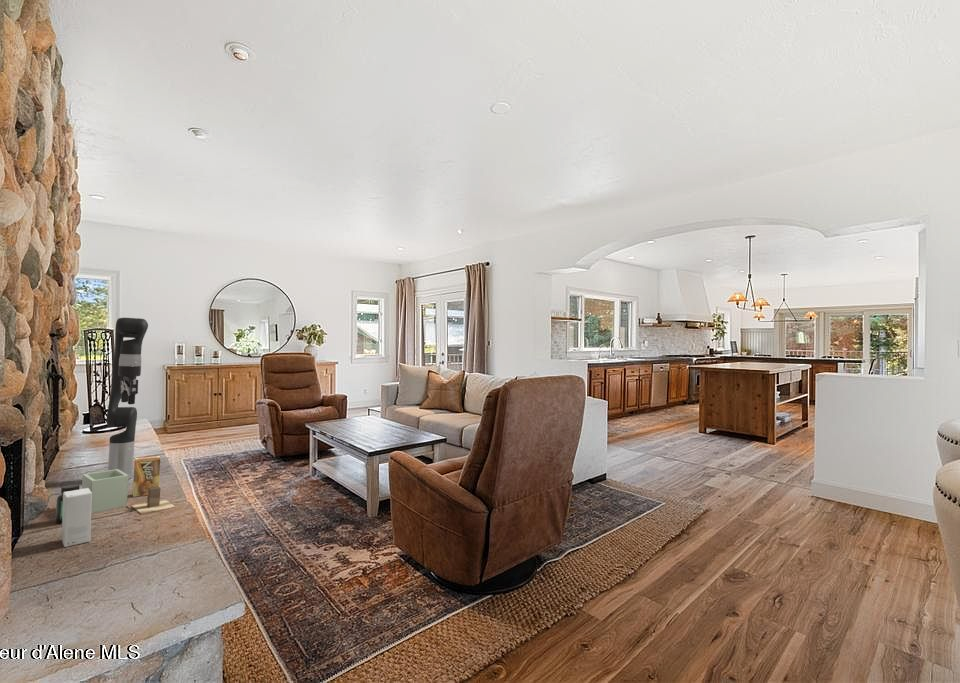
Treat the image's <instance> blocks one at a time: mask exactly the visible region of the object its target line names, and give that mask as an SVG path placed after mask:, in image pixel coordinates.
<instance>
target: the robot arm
mask: <svg viewBox="0 0 960 683" xmlns="http://www.w3.org/2000/svg"><path fill="white" fill-rule="evenodd" d="M148 327H149V323H148V321H147V320H146V319H145V318H140V317H139V318H138V317H118V318H117V319H116V323H115V330H114V331H115V334H114V355H113V361H112V369H111V370H112V371H111V384H110V395H109V400H108V406H107V412H106V420H105V421H106V422H105V423H106V425H107V427H108V428H125V430H124V431H122V432H120V433H115V434H112V435H110V436H109V446H108V459H107V460H108V461H107V462H108V463H107V471H109V470H116V469H119V470H120V471H122V472H124V473H125V474H127V475H129V478H128V480H129V479H132V478H133V476H134V460H135V458H134V456H135V455H134V454H135V441H136V440H135V439H136V426H137V420H138V419H137V418H138V411H137V410H138V409H137V408H136V407H134V406H123V407H122V406H119V404H120V402H121V403H127V404H128V405H134V404H136V402H135V401H136V395H137V394H138V393H139V379H137V377H140V376H141V372H142V348H143V347H142V346H143V345H142V344H143V341H144V338H145V335H146V333H147V331H148ZM124 338H128V339H125V340H124ZM130 338H131V339H130Z"/></svg>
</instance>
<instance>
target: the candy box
mask: <svg viewBox="0 0 960 683" xmlns="http://www.w3.org/2000/svg"><path fill="white" fill-rule="evenodd" d="M161 459H162V458H161V456H160V455H156V456H147V457H146V456H145V457H135V458H134V461H133V481H132V482H133V484H132V497H133V498H136V497H142V496H148V488H149V487H155V486H159V487H160V477H161V461H162V460H161Z"/></svg>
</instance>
